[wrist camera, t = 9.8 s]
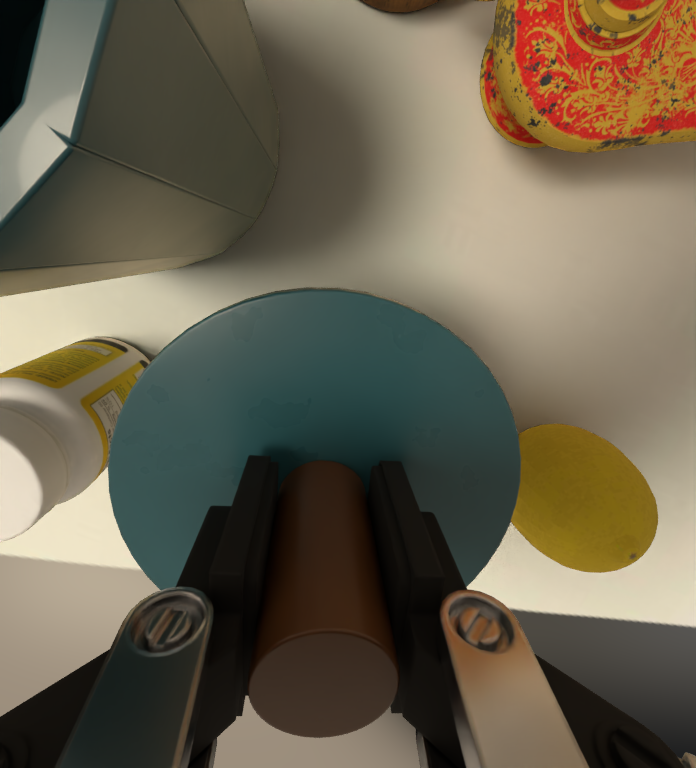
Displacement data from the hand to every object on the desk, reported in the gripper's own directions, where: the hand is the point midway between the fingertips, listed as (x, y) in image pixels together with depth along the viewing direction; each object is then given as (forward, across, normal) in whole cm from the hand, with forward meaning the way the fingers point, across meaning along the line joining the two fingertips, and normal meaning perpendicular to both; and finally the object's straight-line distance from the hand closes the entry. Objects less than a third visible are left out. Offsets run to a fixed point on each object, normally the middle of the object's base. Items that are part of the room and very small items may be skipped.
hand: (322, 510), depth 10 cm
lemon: (+10, -11, +3) cm, 15 cm away
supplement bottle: (+10, +10, 0) cm, 14 cm away
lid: (+1, 0, 0) cm, 1 cm away
